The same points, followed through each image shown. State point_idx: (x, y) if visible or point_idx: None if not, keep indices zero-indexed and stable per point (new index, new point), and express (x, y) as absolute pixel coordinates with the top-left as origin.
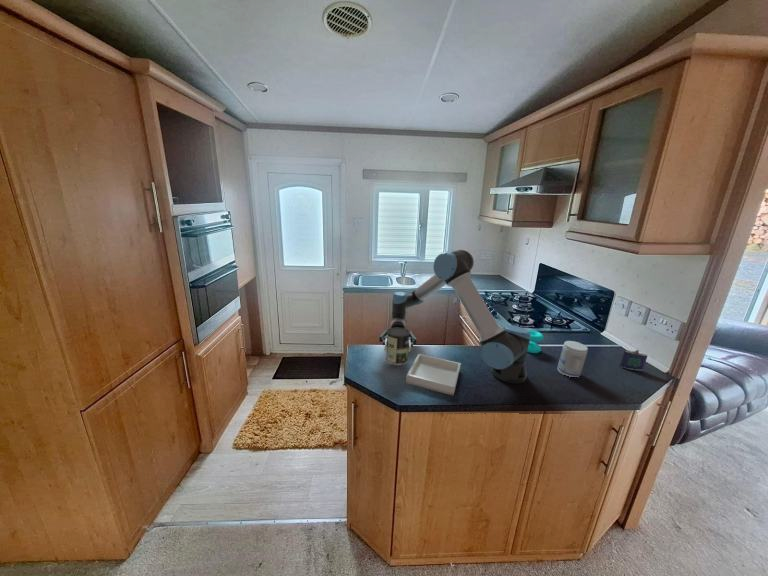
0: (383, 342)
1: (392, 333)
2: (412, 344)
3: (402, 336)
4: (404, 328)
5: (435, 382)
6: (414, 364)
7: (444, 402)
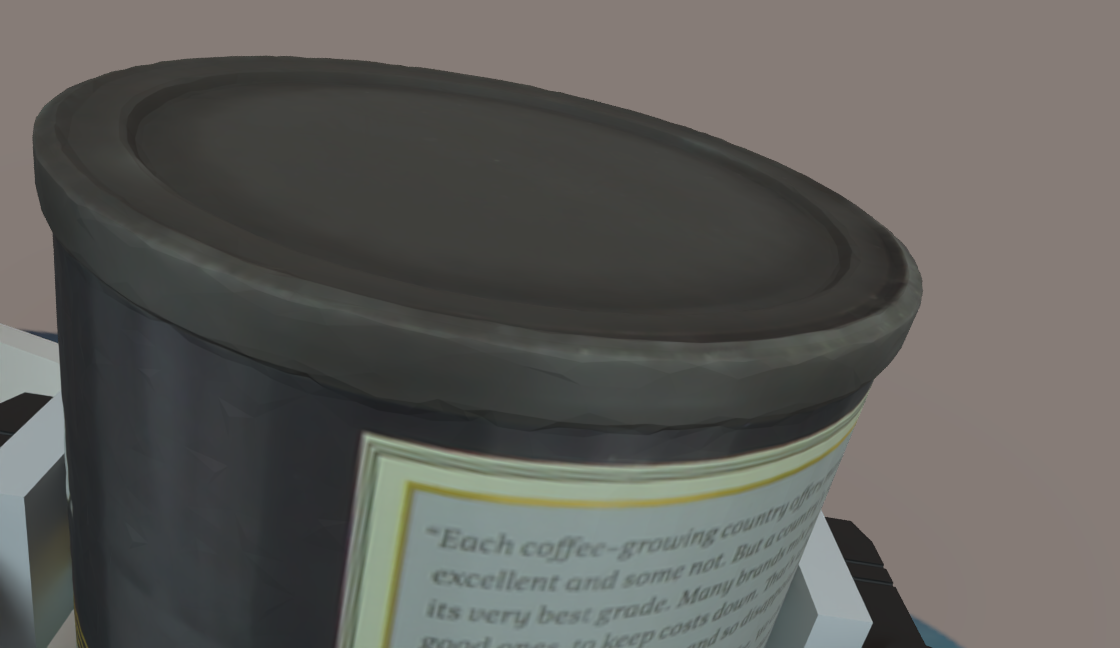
0: (838, 527)
1: (686, 164)
2: (26, 403)
3: (420, 70)
4: (145, 220)
5: (19, 331)
6: (72, 618)
7: (41, 333)
